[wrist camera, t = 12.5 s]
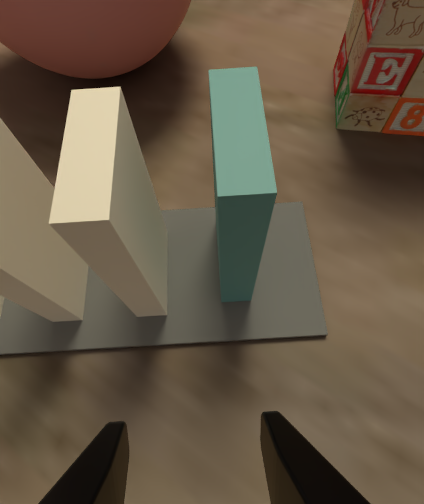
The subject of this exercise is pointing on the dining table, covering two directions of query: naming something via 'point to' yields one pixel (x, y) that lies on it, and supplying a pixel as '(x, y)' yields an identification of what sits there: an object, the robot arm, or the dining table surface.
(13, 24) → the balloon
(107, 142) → the domino
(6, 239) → the domino
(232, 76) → the teal domino
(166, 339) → the domino mat
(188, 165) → the dining table surface
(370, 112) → the stack of blocks
